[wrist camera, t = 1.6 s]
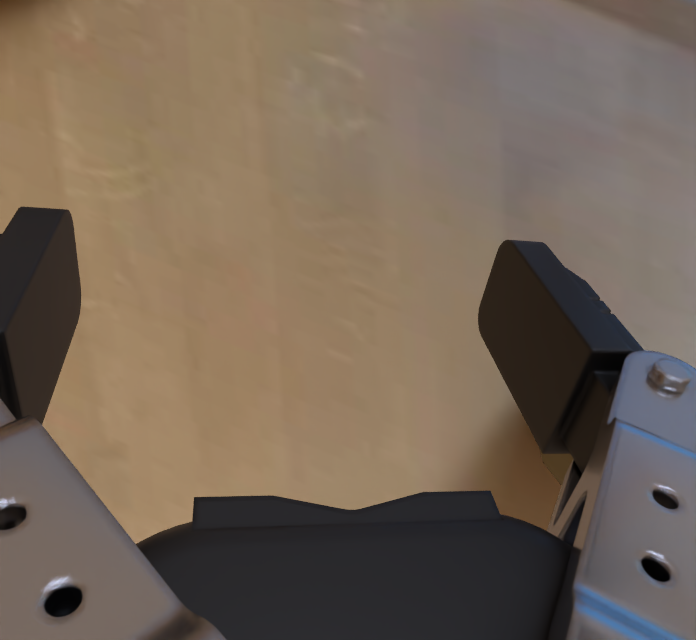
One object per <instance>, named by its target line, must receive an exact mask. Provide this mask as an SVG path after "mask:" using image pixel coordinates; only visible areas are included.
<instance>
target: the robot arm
mask: <svg viewBox="0 0 696 640" xmlns="http://www.w3.org/2000/svg"><path fill="white" fill-rule="evenodd" d="M80 307H81V286H80V277H79V269H78V260H77V252H76V243H75V235H74V227H73V220H72V216H71V213H70V212H69V210H65V209H50V208H35V207H20V208H19V209H18V210H17V212H16V213H15V215H14V217H13V218H12V220H11V221H10V223H9V224H8V226H7V228H6V229H5V231H4V232H3V234H0V640H696V369H695V368H693V367H692V366H690V365H689V364H687V363H685V362H683V361H681V360H679V359H677V358H675V357H673V356H670V355H667V354H664V353H660V352H655V351H645V350H643V348H642V347H641V346H640V345H639V344H638V342H637V341H636V340H635V339H634V338H633V337H632V335H631V334H630V333H629V332H628V331H627V329H626V328H625V327H624V326H623V325H622V323H621V322H620V321H619V320H618V319H617V318H616V316H615V315H614V314H611V313H610V312H611V310H610V309H609V308H608V307H607V306H606V304H605V303H604V302H603V301H600V297H599V296H598V295H597V294H596V293H595V291H594V290H593V289H592V288H591V287H590V285H589V284H588V283H587V282H586V281H584V280H583V279H581V278H580V277H579V276H577V275H576V274H574V273H573V272H571V271H570V270H568V269H567V268H565V267H564V266H563V265H562V263H561V262H560V261H559V260H558V259H557V257H556V256H555V255H554V254H553V252H552V251H551V250H550V249H549V248H548V246H547V245H546V244H545V243H543V242H532V241H517V240H505V241H504V242H503V243H502V244H501V245H500V247H499V249H498V251H497V254H496V257H495V260H494V263H493V266H492V269H491V272H490V276H489V279H488V282H487V285H486V288H485V291H484V294H483V297H482V300H481V303H480V307H479V313H478V325H479V331H480V334H481V336H482V338H483V340H484V342H485V344H486V346H487V348H488V350H489V352H490V354H491V356H492V357H493V359H494V361H495V363H496V365H497V367H498V369H499V371H500V373H501V375H502V377H503V379H504V381H505V382H506V384H507V386H508V388H509V390H510V392H511V394H512V396H513V398H514V400H515V402H516V404H517V405H518V407H519V409H520V411H521V413H522V415H523V417H524V419H525V421H526V423H527V425H528V427H529V428H530V430H531V432H532V434H533V436H534V438H535V440H536V442H537V444H538V446H539V448H540V450H541V452H542V453H543V454H571V456H572V457H573V461H572V463H571V464H570V466H569V468H568V470H567V472H566V475H565V478H564V481H563V484H562V487H561V490H560V493H559V496H558V499H557V502H556V505H555V508H554V511H553V514H552V517H551V520H550V523H549V526H548V529H547V531H545V530H543V529H542V528H540V527H537V526H535V525H532V524H530V523H528V522H525V521H522V520H519V519H516V518H513V517H510V516H506V515H501V514H500V513H499V511H498V508H497V506H496V503H495V501H494V498H493V496H492V493H491V491H455V492H422V493H418V494H414V495H411V496H407V497H403V498H399V499H396V500H392V501H388V502H385V503H381V504H377V505H373V506H370V507H366V508H362V509H357V510H345V509H340V508H334V507H329V506H324V505H319V504H314V503H308V502H303V501H298V500H293V499H288V498H282V497H277V496H232V497H194V507H193V521H192V522H189V523H185V524H182V525H178V526H175V527H172V528H170V529H167V530H164V531H162V532H159V533H157V534H155V535H153V536H151V537H149V538H147V539H145V540H143V541H141V542H139V543H137V544H135V543H134V542H133V540H132V539H131V538H130V537H129V535H128V534H127V533H126V531H125V530H124V529H123V528H122V526H121V525H120V524H119V523H118V521H117V520H116V519H115V517H114V516H113V515H112V514H111V512H110V511H109V510H108V509H107V507H106V506H105V505H104V503H103V502H102V501H101V500H100V498H99V497H98V496H97V495H96V493H95V492H94V491H93V490H92V488H91V487H90V486H89V484H88V483H87V482H86V481H85V479H84V478H83V477H82V476H81V474H80V473H79V472H78V470H77V469H76V468H75V467H74V465H73V464H72V463H71V462H70V460H69V459H68V458H67V456H66V455H65V454H64V453H63V451H62V450H61V449H60V448H59V446H58V445H57V444H56V442H55V441H54V440H53V439H52V437H51V436H50V435H49V434H48V432H47V431H46V430H45V428H44V427H43V426H42V423H43V420H44V417H45V415H46V412H47V409H48V406H49V403H50V400H51V397H52V395H53V392H54V389H55V386H56V383H57V380H58V377H59V374H60V372H61V369H62V366H63V363H64V360H65V357H66V354H67V352H68V349H69V346H70V343H71V340H72V337H73V334H74V331H75V329H76V326H77V323H78V320H79V315H80Z"/></svg>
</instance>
